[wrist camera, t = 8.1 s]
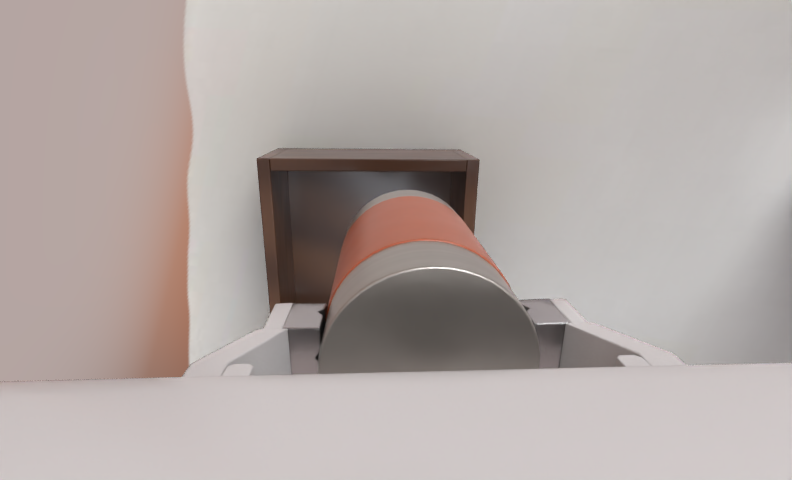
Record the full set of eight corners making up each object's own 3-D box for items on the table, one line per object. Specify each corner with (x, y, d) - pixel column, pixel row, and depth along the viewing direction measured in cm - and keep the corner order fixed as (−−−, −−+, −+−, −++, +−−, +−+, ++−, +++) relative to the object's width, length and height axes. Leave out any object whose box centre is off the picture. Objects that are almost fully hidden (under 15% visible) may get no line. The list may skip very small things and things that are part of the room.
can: (407, 160, 18) (435, 214, 9) (494, 249, 19) (587, 366, 11) (316, 251, 19) (267, 374, 10) (405, 329, 20) (425, 493, 12)
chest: (277, 148, 36) (256, 158, 30) (460, 149, 37) (479, 159, 30) (290, 323, 41) (274, 365, 35) (450, 321, 42) (465, 361, 36)
